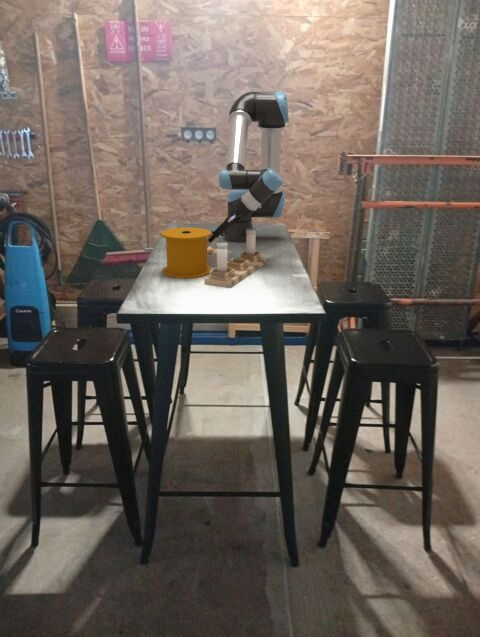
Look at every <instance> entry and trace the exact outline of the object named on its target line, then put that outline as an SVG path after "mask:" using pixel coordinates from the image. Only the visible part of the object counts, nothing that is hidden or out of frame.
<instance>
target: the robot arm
mask: <svg viewBox="0 0 480 637" xmlns="http://www.w3.org/2000/svg"><path fill="white" fill-rule="evenodd" d="M287 96H288V95H287V94H286V92H281V91H247V92H245V93H243V94H242V95H240V96H239V97H238V98H236V100H235V101H234V102H233V104H232V105H231V106H230V109H229V113H228V120H227V121H228V124H229V133H228V141H227V142H228V144H227V152H226V153H227V154H226V163H225V168H221V169H220V171H219V176H218V184H219V187H220V188H221V189H222V190H230V191H229V192H228V194H227V201H226V202H227V217H226V218H225V219H224V221H223V222H222V223H220V224H219V226H218V227H217V228H215V230H211V235H210V236H209V237H207V248H208V247H212V246H213V244H215V242H217V241H218V240H219V239H220V238H221V237H223V239H224V240H225V241H227V242H233V243H246V229H248V228H253V229H254V226H253V218H263V219H264V218H265V219H266V218H267V219H275V218H276V219H278V218H281V216H282V215H283V212H284V206H285V199H286V193H285V192H284V191H283V188H282V185H283V183H284V181H283V179H282V177H281V176H280V175H281V174H280V173H281V172H280V171H281V150H282V149H281V148H282V131H283V130H284V129H285V127H286V123H289V121H290V120H289V105H288V104H289V103H288V97H287ZM252 122H253V123H257V128H259V129H260V131H261V139H260V140H261V142H260V143H261V144H260V169H246V161H247V150H248V148H247V147H248V135H249V127H250V126H251V124H252Z"/></svg>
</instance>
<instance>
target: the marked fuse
mask: <svg viewBox="0 0 480 637" xmlns="http://www.w3.org/2000/svg"><path fill="white" fill-rule="evenodd" d="M216 249H217V248H213V247H212V246H210V247H208V248H207V255H211V256H217V250H216Z"/></svg>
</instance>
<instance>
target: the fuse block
mask: <svg viewBox="0 0 480 637" xmlns="http://www.w3.org/2000/svg"><path fill="white" fill-rule="evenodd" d="M266 262H267V259H266V258H265V257H264V258H262V252H261V251H255V256H252V255H246V250H245V251H242V252H241V253H240V254H239V257H238V258H234V257H233V258H232V259H231V260H229V261H227V273H219V272H217V267H215V268H213V269H211V271H210V272H209V274H208V275H207V276H206V277H204V285H209V284H210V285H209V286H215V285H216V286H217V287H222V288H223V287H224V288H232V287H234V286H236V285H237V284H239V283H240V282H241V281H243V280H245V278H248V276H250V275H251V274H252V273H254V272H256V271H257V270H259V269H260V268H261V267H263V266H264V265H266Z"/></svg>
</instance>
